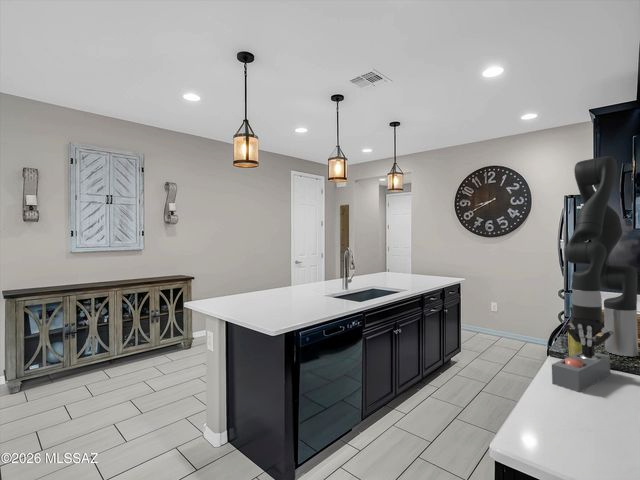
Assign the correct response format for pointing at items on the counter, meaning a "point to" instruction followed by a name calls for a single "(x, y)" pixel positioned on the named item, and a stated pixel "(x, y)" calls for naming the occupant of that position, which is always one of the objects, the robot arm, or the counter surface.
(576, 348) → the sauce bottle
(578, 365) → the red button
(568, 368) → the button panel
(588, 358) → the steel button
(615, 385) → the counter surface
